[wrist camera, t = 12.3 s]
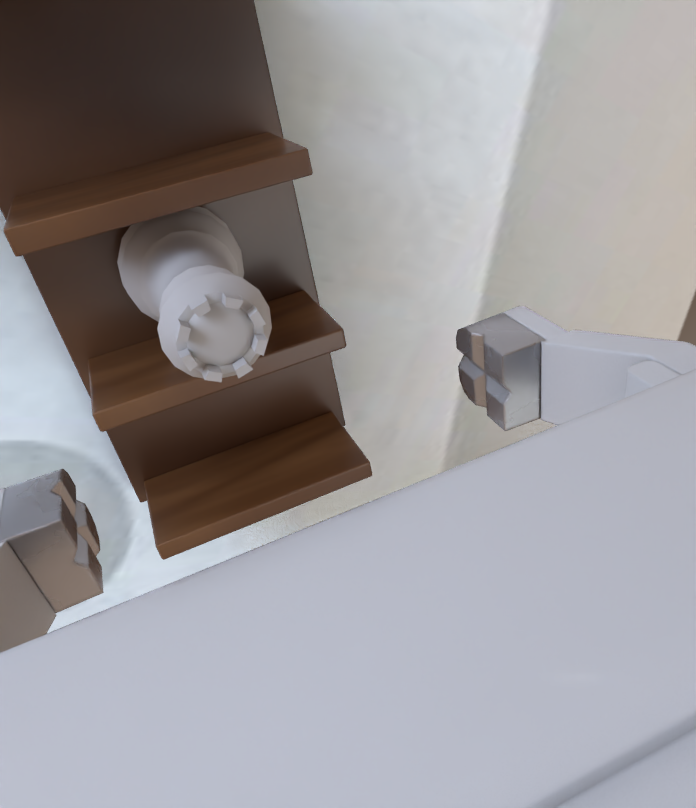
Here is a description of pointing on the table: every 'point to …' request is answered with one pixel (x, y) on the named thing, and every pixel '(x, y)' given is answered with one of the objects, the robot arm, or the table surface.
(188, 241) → the rook chess piece
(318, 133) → the table surface
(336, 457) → the plate rack
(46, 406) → the table surface
